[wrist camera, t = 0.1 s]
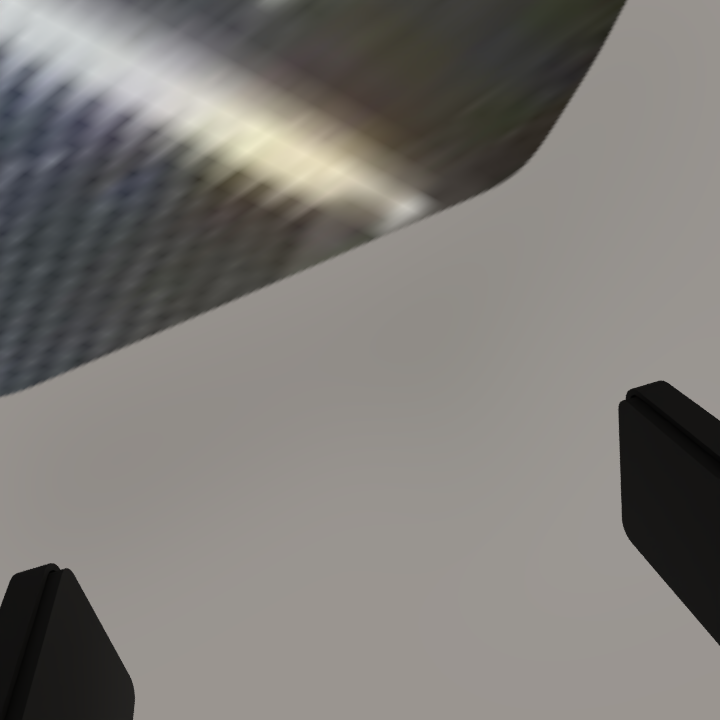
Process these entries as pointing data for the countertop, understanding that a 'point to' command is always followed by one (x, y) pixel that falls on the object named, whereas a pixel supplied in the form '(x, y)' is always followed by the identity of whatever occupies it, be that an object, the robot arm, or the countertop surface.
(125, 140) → the countertop surface
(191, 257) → the countertop surface
